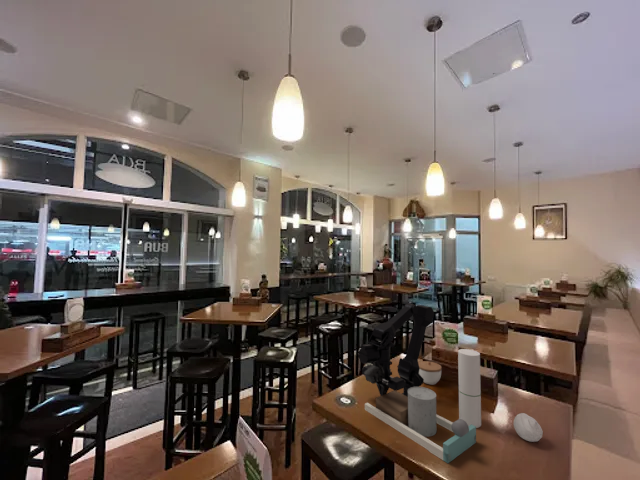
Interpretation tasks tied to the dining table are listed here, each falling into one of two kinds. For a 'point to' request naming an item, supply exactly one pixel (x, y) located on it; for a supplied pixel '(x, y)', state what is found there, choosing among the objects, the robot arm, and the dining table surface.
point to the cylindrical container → (469, 387)
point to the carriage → (394, 405)
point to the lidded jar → (430, 372)
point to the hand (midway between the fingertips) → (382, 398)
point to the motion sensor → (527, 427)
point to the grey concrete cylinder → (422, 411)
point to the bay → (451, 447)
